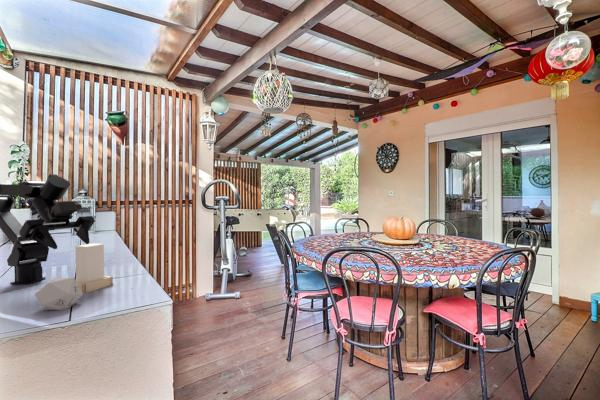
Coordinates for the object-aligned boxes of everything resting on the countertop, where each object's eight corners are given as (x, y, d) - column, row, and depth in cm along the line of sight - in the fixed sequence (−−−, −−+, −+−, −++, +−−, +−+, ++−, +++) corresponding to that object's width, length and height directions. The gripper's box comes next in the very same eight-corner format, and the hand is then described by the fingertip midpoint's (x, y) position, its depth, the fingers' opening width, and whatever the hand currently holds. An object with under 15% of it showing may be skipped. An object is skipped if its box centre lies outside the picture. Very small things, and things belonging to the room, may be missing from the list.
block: (76, 289, 86) (75, 246, 86) (93, 284, 90) (92, 243, 90) (87, 291, 84) (86, 246, 84) (104, 286, 89) (103, 244, 89)
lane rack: (44, 291, 87) (44, 280, 87) (79, 282, 96) (79, 272, 96) (81, 297, 81) (80, 285, 81) (114, 286, 91) (114, 276, 91)
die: (43, 322, 66) (74, 285, 69) (17, 302, 68) (48, 266, 71) (69, 320, 74) (96, 287, 77) (46, 302, 75) (73, 270, 78)
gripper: (24, 192, 83) (49, 231, 79) (90, 192, 100) (114, 224, 96) (8, 219, 86) (32, 258, 82) (76, 215, 103) (98, 247, 99)
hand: (73, 245), depth 90 cm, fingers open, 9 cm apart
